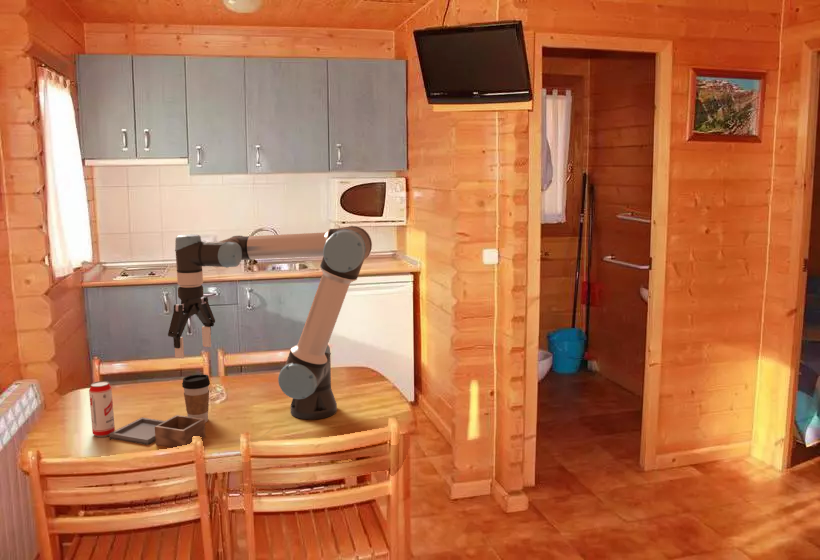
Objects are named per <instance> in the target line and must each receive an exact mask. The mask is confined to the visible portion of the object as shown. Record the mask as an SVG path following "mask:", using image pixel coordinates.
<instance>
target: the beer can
mask: <svg viewBox="0 0 820 560" xmlns="http://www.w3.org/2000/svg"><path fill="white" fill-rule="evenodd" d="M88 394H89V395H88V396H89V407H90V418H91V429H92V435H94V436H95V437H97V438H106V437H110V436H109V433H111V432H113V431H115V430H116V427H115V417H114V405H113V404H114V402H113V391H112V386H111V385H110V382H109V381H108V380H107V381H106V380H99V381H94V382H92V383H91V384H90V387H89V389H88Z"/></svg>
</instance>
